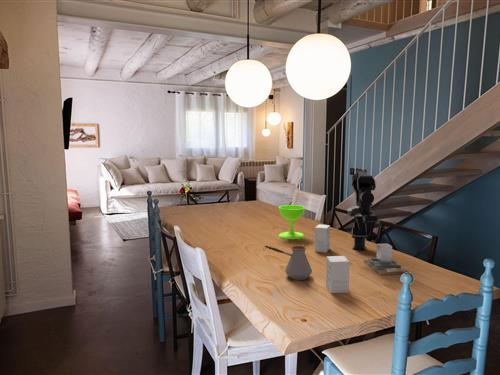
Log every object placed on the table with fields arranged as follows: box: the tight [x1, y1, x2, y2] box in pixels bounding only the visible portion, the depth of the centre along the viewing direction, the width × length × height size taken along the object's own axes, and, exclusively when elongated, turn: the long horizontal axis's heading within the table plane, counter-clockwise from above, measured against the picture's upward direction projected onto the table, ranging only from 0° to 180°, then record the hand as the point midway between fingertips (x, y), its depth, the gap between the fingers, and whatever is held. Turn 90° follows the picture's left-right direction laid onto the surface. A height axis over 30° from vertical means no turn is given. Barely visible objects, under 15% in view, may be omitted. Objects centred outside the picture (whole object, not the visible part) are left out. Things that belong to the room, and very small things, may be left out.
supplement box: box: [325, 255, 350, 294], centre depth 151 cm, size 7×7×13 cm
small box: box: [314, 223, 331, 253], centre depth 206 cm, size 8×6×13 cm
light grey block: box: [376, 242, 393, 265], centre depth 178 cm, size 5×5×9 cm
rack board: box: [363, 257, 409, 276], centre depth 177 cm, size 18×13×2 cm
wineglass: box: [278, 204, 306, 240], centre depth 235 cm, size 16×16×18 cm
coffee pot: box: [263, 245, 313, 281], centre depth 164 cm, size 21×12×15 cm, turn 104°
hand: (363, 232), depth 191 cm, fingers open, 9 cm apart
